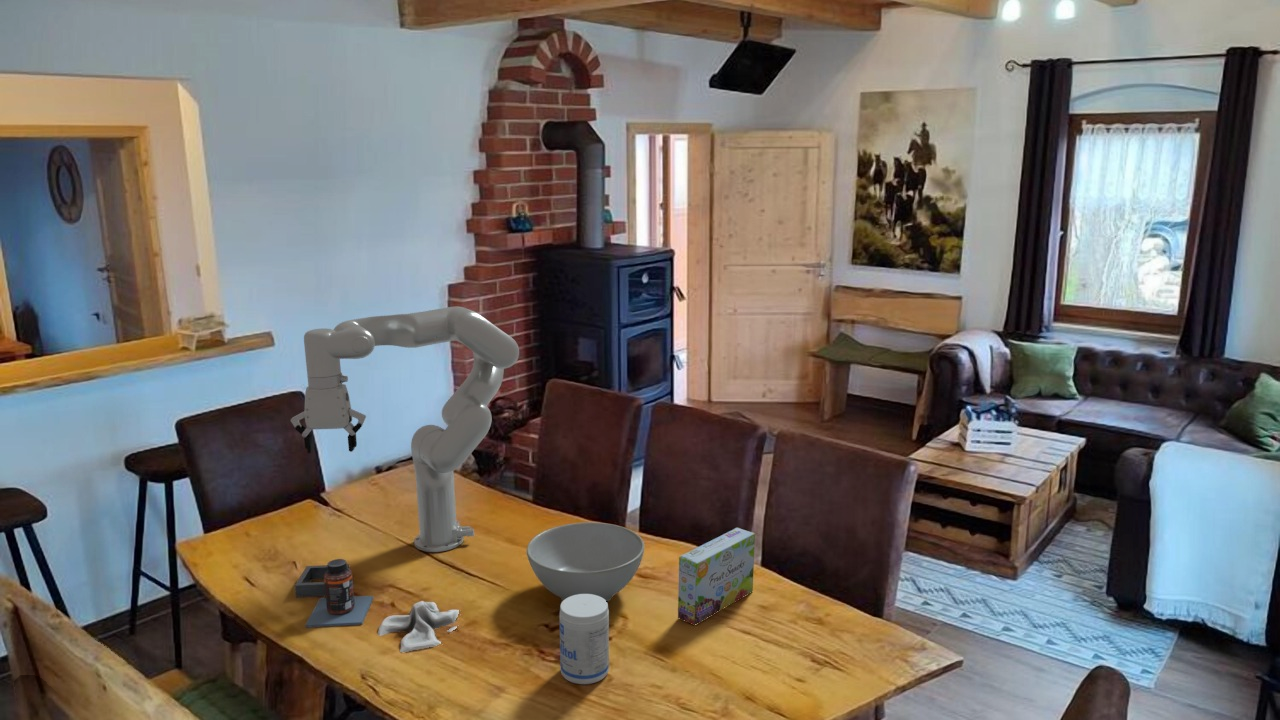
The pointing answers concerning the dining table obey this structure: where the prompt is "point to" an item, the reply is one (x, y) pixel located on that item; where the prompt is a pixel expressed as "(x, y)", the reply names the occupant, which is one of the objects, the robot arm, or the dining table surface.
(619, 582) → the decorative bowl
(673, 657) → the dining table surface
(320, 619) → the board
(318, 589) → the collar
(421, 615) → the cloth
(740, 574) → the snack box
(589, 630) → the supplement tub
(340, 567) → the supplement bottle
